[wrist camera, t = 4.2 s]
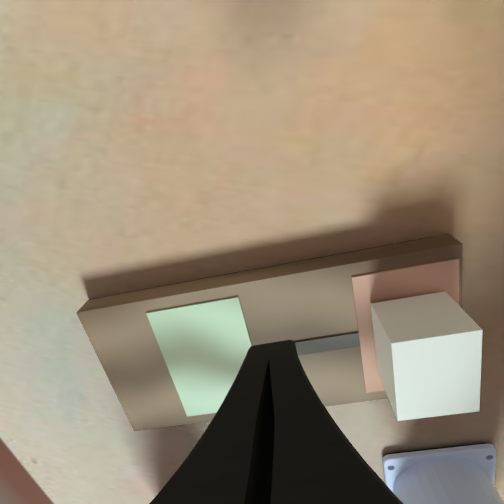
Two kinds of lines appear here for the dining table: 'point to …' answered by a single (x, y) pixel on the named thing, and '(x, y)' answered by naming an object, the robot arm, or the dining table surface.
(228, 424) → the robot arm
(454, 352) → the white block
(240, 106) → the dining table surface
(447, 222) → the dining table surface
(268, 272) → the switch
